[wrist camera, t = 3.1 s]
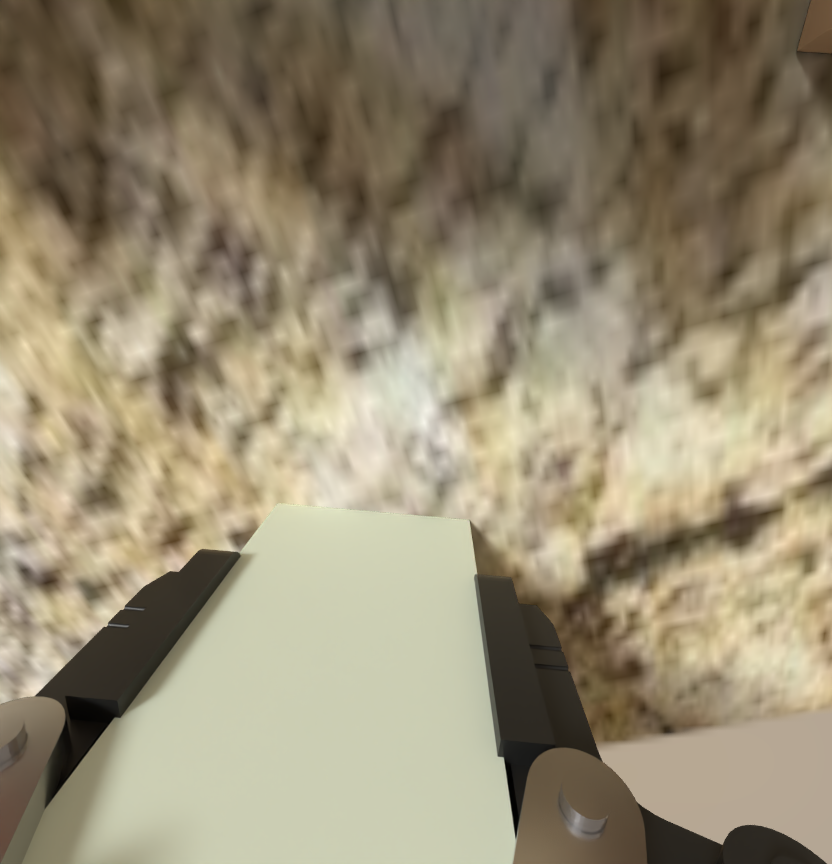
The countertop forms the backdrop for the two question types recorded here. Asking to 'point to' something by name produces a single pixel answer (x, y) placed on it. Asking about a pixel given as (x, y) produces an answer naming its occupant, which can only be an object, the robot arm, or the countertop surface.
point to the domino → (307, 714)
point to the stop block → (817, 28)
